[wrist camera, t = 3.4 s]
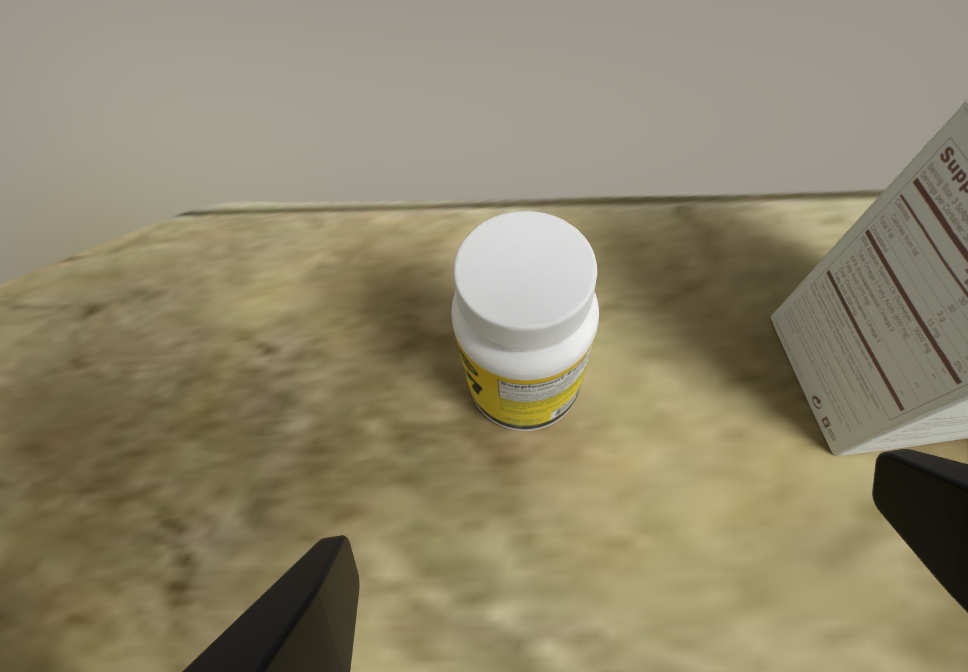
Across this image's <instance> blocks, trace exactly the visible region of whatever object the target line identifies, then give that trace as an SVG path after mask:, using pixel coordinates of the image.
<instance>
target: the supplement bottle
mask: <svg viewBox="0 0 968 672" xmlns="http://www.w3.org/2000/svg"><path fill="white" fill-rule="evenodd" d="M596 279H597V263H596V259H595V255H594V252H593V250H592V248H591V246H590V244H589V242H588V241H587V239H586V238H585V237H584V236H583V235H582V233H580V232H579V231H578V230H577V229H576V228H575V227H574V226H572V225H571V224H569V223H567V222H566V221H564V220H562V219H560V218H558V217H555V216H553V215H549V214H546V213H541V212H534V211H517V212H509V213H505V214H501V215H498V216H495V217H493V218H491V219H489V220H486V221H485V222H483V223H482V224H480V225H479V226H477V227H476V228H475V229H474V230H473V231H472V232H470V233H469V234H468V236H467V237H466V238H465V239H464V241H463V242H462V244H461V245H460V247H459V249H458V252H457V255H456V257H455V262H454V283H455V293H454V297H453V301H452V310H451V311H452V326H453V330H454V334H455V337H456V341H457V345H458V349H459V353H460V356H461V360H462V364H463V367H464V371H465V375H466V378H467V382H468V386H469V389H470V392H471V395H472V397H473V400H474V402H475V403H476V405H477V406H478V408H479V409H480V411H481V412H482V413H483V414H484V415H485V416H486V417H487V418H489V419H490V420H491V421H493V422H494V423H496V424H498V425H500V426H502V427H505V428H508V429H512V430H517V431H532V430H538V429H541V428H544V427H547V426H549V425H551V424H553V423H555V422H556V421H558V420H560V419H561V418H562V417H563V416H564V415H565V414H566V413H567V412H568V411H569V410H570V408H571V407H572V405H573V404H574V402H575V400H576V398H577V395H578V392H579V389H580V386H581V383H582V380H583V376H584V373H585V370H586V366H587V363H588V359H589V356H590V352H591V349H592V346H593V342H594V339H595V336H596V332H597V327H598V321H599V307H598V301H597V297H596V294H595V291H594V290H595V285H596Z"/></svg>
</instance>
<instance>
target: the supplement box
mask: <svg viewBox="0 0 968 672" xmlns="http://www.w3.org/2000/svg"><path fill="white" fill-rule="evenodd" d="M771 320H772V322H773V325H774V327H775V330H776V332H777V335H778V337H779V339H780V341H781V344H782V346H783V348H784V350H785V352H786V355H787V357H788V359H789V361H790V363H791V366H792V368H793V370H794V372H795V375H796V377H797V379H798V381H799V383H800V385H801V388H802V390H803V392H804V394H805V396H806V398H807V401H808V403H809V405H810V407H811V410H812V412H813V414H814V416H815V418H816V420H817V423H818V425H819V427H820V429H821V431H822V433H823V435H824V438H825V440H826V442H827V444H828V446H829V448H830V450H831V452H832V453H833V454H834V455H835V456H839V455H848V454H857V453H866V452H874V451H882V450H889V449H897V448H904V447H911V446H918V445H925V444H931V443H938V442H945V441H952V440H959V439H966V438H968V100H966V101H965V102H964V103H963V104H962V105H961V107H960V108H959V109H958V110H957V112H955V114H954V115H953V116H952V117H951V118H950V119H949V120H948V121H947V123H946V124H945V125H944V126H943V127H942V128H941V129H940V130H939V131H938V132H937V133H936V135H935V136H934V137H933V138H932V139H931V140H930V141H929V142H928V143H927V144H926V145H925V146H924V147H923V149H922V150H921V151H920V152H919V153H918V154H917V155H916V156H915V157H914V159H913V160H912V161H911V162H910V163H909V164H908V165H907V166H906V168H905V169H904V170H903V171H902V172H901V173H900V174H899V175H898V177H896V179H895V180H894V181H893V182H892V183H891V184H890V185H889V186H888V187H887V188H886V189H885V190H884V191H883V193H882V194H881V195H880V196H879V197H878V198H877V199H876V200H875V201H874V203H873V204H872V205H871V206H870V207H869V208H868V209H867V210H866V211H865V212H864V213H863V214H862V216H861V217H860V218H859V219H858V220H857V221H856V222H855V224H854V225H853V226H852V227H851V228H850V229H849V230H848V231H847V232H846V233H845V234H844V236H843V237H842V238H841V239H840V240H839V241H838V242H837V243H836V244H835V246H834V247H833V248H832V249H831V250H830V251H829V252H828V253H827V254H826V256H825V257H824V258H823V259H822V260H821V261H820V262H819V263H818V264H817V265H816V267H815V268H814V269H813V270H812V271H811V272H810V273H809V274H808V275H807V277H806V278H805V279H804V280H803V281H802V282H801V283H800V284H799V285H798V287H797V288H796V289H795V290H794V291H793V292H792V293H791V294H790V295H789V297H788V298H787V299H786V300H785V301H784V302H783V303H782V305H781V306H780V307H779V308H778V309H777V310H776V311H775V312H774V313H773V315H772V316H771Z"/></svg>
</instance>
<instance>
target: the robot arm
mask: <svg viewBox="0 0 968 672" xmlns="http://www.w3.org/2000/svg"><path fill="white" fill-rule="evenodd" d="M872 496H873V500H874V503H875V505H876V507H877V509H878V510H879V511H880V512H881V514H882V515H883V516H884V517H885V518H886V520H887V521H888V522H889V523H890V524H891V526H892V527H893V528H894V529H895V530H896V531H897V533H898V534H899V535H900V536H901V537H902V539H903V540H904V541H905V542H906V543H907V545H908V546H909V547H910V548H911V549H912V550H913V552H914V553H915V554H916V555H917V556H918V558H919V559H920V560H921V561H922V562H923V564H924V565H925V566H926V567H927V568H928V569H929V571H930V572H931V573H932V574H933V575H934V577H935V578H936V579H937V580H938V581H939V582H940V584H941V585H942V586H943V587H944V588H945V589H946V590H947V592H948V593H949V594H950V595H951V596H952V597H953V598H954V599H955V600H956V601H957V602H958V603H959V604H960V605H961V606H962V608H963V609H964V610H965V611H966V612H967V613H968V464H965V463H961V462H957V461H953V460H949V459H946V458H942V457H938V456H934V455H930V454H926V453H922V452H918V451H914V450H910V449H900V450H893V451H887V452H883V453H881V454H879V455H878V457H877V459H876V464H875V472H874V481H873V490H872ZM358 597H359V575H358V570H357V567H356V563H355V560H354V556H353V552H352V549H351V545H350V542H349V540H348V538H347V537H346V536H344V535H341V536H334V537H328V538H323V539H321V540H320V541H318V542H317V543H316V544H315V545H314V546H313V547H312V548H311V549H310V550H309V551H308V552H307V553H306V554H305V555H304V556H303V557H302V558H301V559H300V560H298V561H297V562H296V563H295V564H294V565H293V566H292V567H291V568H290V569H289V570H288V571H287V572H286V573H285V574H284V575H283V576H282V577H281V578H280V579H279V580H278V581H277V582H275V583H274V584H273V585H272V586H271V587H270V588H269V589H268V590H267V591H266V592H265V593H264V594H263V595H262V596H261V597H260V598H259V599H258V600H257V601H256V602H255V603H254V604H253V605H251V606H250V607H249V608H248V609H247V610H246V611H245V612H244V613H243V614H242V615H241V616H240V617H239V618H238V619H237V620H236V621H235V622H234V623H233V624H232V625H231V626H230V627H228V628H227V629H226V630H225V631H224V632H223V633H222V634H221V635H220V636H219V637H218V638H217V639H216V640H215V641H214V642H213V643H212V644H211V645H210V646H209V647H208V648H207V649H206V650H204V651H203V652H202V653H201V654H200V655H199V656H198V657H197V658H196V659H195V660H194V661H193V662H192V663H191V664H190V665H189V666H188V667H187V668H186V669H185V670H184V671H183V672H350V669H351V660H352V651H353V642H354V633H355V624H356V615H357V606H358Z"/></svg>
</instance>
